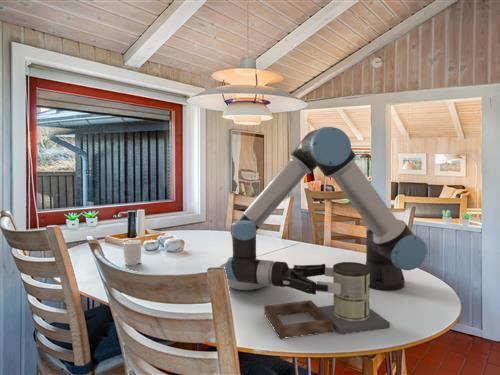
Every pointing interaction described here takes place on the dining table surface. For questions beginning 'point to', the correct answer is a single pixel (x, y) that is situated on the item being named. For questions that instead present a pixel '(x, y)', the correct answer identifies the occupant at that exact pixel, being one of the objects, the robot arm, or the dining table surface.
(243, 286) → the serving bowl
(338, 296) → the coffee can
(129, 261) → the white cup
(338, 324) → the rubber mat
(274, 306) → the walnut collar
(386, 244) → the robot arm
